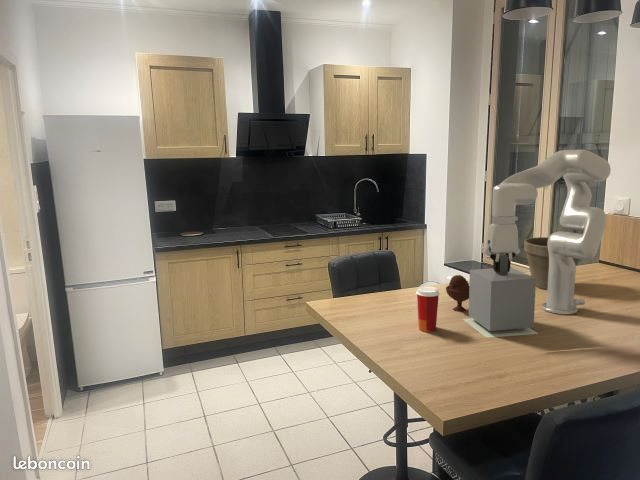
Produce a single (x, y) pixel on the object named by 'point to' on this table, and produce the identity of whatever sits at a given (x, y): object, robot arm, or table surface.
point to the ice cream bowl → (458, 291)
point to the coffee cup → (427, 308)
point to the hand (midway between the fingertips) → (501, 271)
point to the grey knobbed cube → (502, 297)
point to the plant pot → (539, 260)
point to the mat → (499, 332)
